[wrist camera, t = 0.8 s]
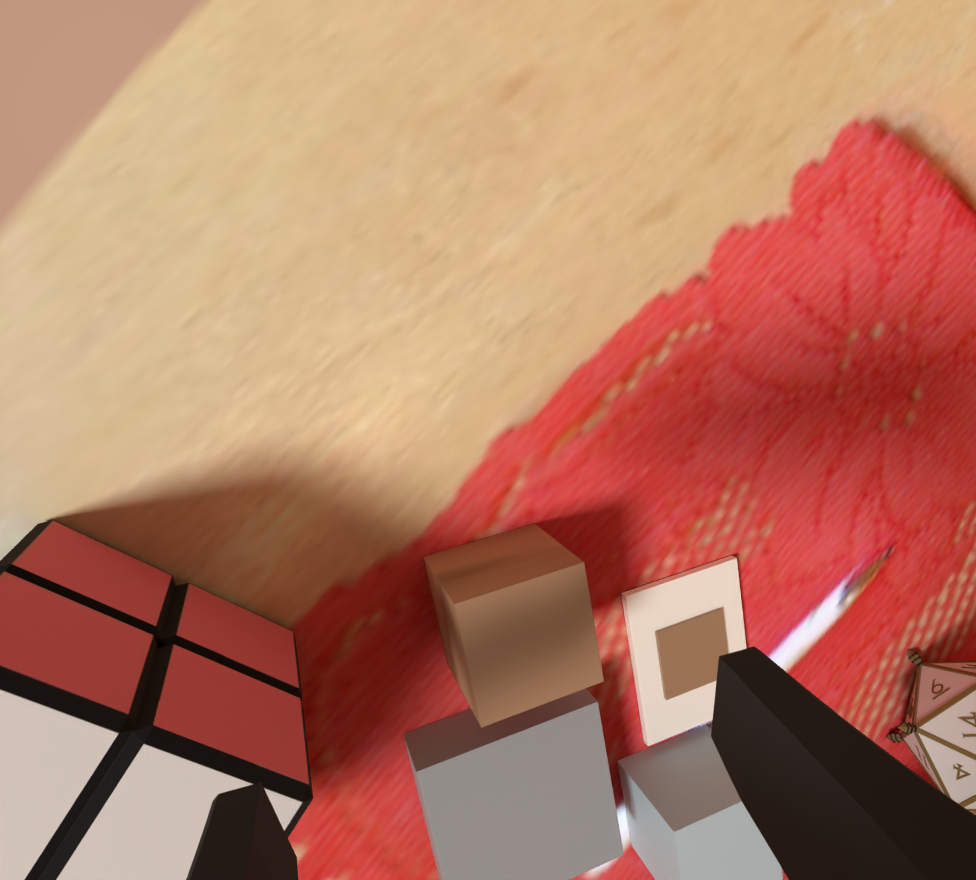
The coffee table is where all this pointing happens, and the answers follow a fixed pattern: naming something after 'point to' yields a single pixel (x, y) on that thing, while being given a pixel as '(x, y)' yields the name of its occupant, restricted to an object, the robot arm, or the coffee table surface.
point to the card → (682, 644)
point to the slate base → (517, 792)
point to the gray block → (691, 814)
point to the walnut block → (514, 621)
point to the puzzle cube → (132, 713)
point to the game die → (944, 726)
